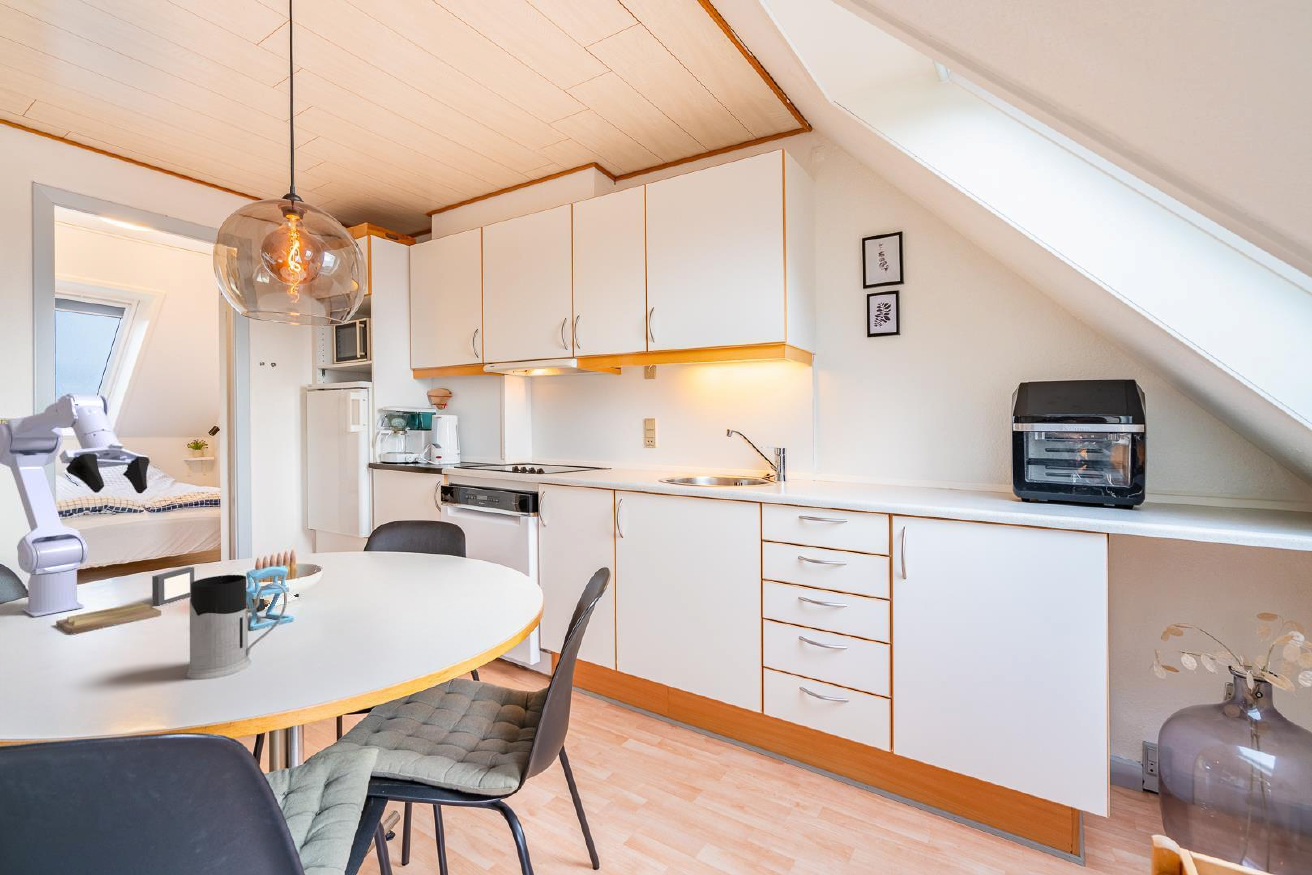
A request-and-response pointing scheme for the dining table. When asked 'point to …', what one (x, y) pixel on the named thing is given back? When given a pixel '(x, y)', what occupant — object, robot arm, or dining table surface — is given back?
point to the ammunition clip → (290, 575)
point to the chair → (269, 590)
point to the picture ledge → (107, 617)
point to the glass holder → (221, 626)
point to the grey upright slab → (172, 586)
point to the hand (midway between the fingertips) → (121, 489)
